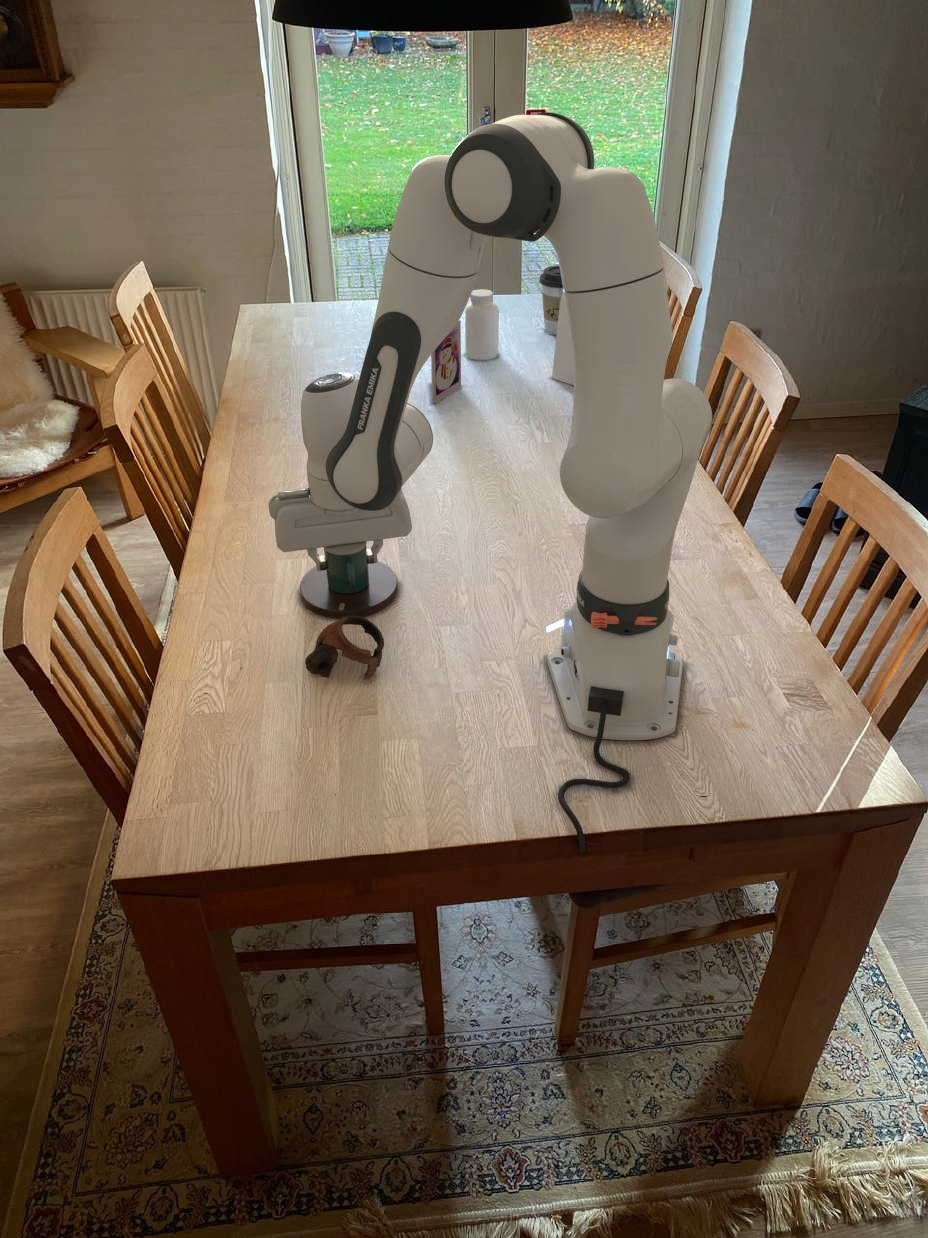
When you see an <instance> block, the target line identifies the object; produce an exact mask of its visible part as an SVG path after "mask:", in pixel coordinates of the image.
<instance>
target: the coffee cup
mask: <svg viewBox="0 0 928 1238" xmlns="http://www.w3.org/2000/svg"><path fill="white" fill-rule="evenodd" d="M538 283H539V284H540V286H541V287H540V288H541V297H542V298H541V299H542V311H543V323H544V329H545V332H546V333H547V334H549V335H553V336H557V327H558V318H559V308H560V300H561V297H562V294H563V292H564V289H563V284H562V278H561V272H560V266H559V264H558V265H550V266H547V267H545V268H544V269H543V272H542V273H541V274H540V275H539V279H538Z"/></svg>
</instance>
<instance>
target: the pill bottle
mask: <svg viewBox="0 0 928 1238" xmlns="http://www.w3.org/2000/svg"><path fill="white" fill-rule="evenodd" d="M469 301H470V302H468V303H467V305H466V307H465V309H464V331H465V332H464V333H465V334H464V335H465V336H464V339H465V344H464V345H465V346H464V347H465V349H464V350H465V355H466V357H467V358H468V359H471V360H475V361H488V360H493V359H495V358H496V357H497V356H498V354H499V332H500V331H499V328H500V325H499V321H500V319H499V318H500V309H499V306H498V305H497V304H496V303H495V302H494V292H493V291H492V290H490V289H487V288H486V289H485V288H482V289H481V288H479V289H473V291H472V293H471V296H470V298H469Z"/></svg>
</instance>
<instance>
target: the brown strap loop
mask: <svg viewBox="0 0 928 1238" xmlns="http://www.w3.org/2000/svg"><path fill="white" fill-rule="evenodd" d="M344 625H346V626H347V625H355V626H360V627H361V628H362V629H363V631H364V634H368V635H369V636H370V637H372V639H373V640H374V642H375V643H376V648H374V650H373V655H372V652H371V650H369V649H364V648H360V647H358V646H357V645H355V644H354V643H352V642H351V641H349V640H348V638H347V637H346V634H345V633H344V629H343V628H344V627H343V626H344ZM384 648H385V639H384V637H383V633H382V631H381V630H380V629H379V627H378V626H377V625H376V624H375V623H374V622H372V621H371V620H369V618H366V617H361V616H358V615H347V616H345V617H342V618H341V619H338V621H334V622H331V623H329V624H327V625H326V627H324V628H323V629H322V630H321V632H320V633H319V634H318V636H317V639H316V642H315V646H314V649H313V651H312V652H310V653H309V654H308V655H307V656H306V657H305V660H304V664H305V668H306V670H307V671H308V672H310V674H312V675H315V676H316V675H318V676H320V677H321V678H325V679H329V678H330V674H331V671H332V669H333V667H334V666H335V665H336V664H337V662H338V658H339V651H341V654H340V656H341V657H343V658H345V659H348V660H350V661H352V662H357V663H359V664H361V665H365V666H367V669H366V671H365V674H364V678H365V679H369V678H371V677H373V676H374V674H376V672H377V669H378V668H379V667H381V666H380V665H381V663H382V659H383V650H384Z"/></svg>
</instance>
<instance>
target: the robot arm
mask: <svg viewBox="0 0 928 1238" xmlns="http://www.w3.org/2000/svg"><path fill="white" fill-rule="evenodd" d="M489 237H494V238H500V239H501V238H503V239H510V240H519V241H523V242H524V241H525V242H529V243H534V242H537V241H539V240H540V239H542V238H543V237H544V238H545V239H546V240H548V241H549V243H550V244H551V245H552V247H553V249H554V251H555V254H556V257H557V261H558V265H559V266H560V272H561V278H562V284H563V289H564V296H565V301H566V307H567V313H568V319H569V325H570V331H571V338H572V344H573V350H574V361H575V386H574V385H573V386H574V389H573V405H572V416H571V426H570V433H569V437H568V441H567V445H566V448H565V451H564V453H563V455H562V458H561V462H560V465H559V478H560V483H561V487H562V489H563V492H564V494H565V496H566V497H567V499H568V500H569V501H570V503H571V504H572V505H573V506H574V507H575V508H576V509H578V510H579V511H580V512H581V513H583V514H585V515H587V516H589V517H588V518H587V522H586V526H585V533H584V546H583V556H582V557H583V558H582V569H581V571H580V573H579V575H578V580H577V583H576V601H575V602H574V603H573V604H572V605H571V606H570V607H568V608H567V610H565V611H564V613H563V619H561V620H558V621H557V622H554V623H552V624H550V625H548V626H546V627H545V628H546V630H545V631H546V633H549V632H551V631H554V630H556V629H558V628H560V627H562V631H561V639H560V640H561V641H560V647H558V648H556V649H553V650H552V651H550V652H548V654H547V656H546V664H547V668H548V670H549V673H550V677H551V680H552V683H553V686H554V689H555V693H556V696H557V699H558V702H559V704H560V707H561V708H560V709H561V711H562V714H563V717H564V720H565V723H566V725H567V727H568V728H569V729H570V730H572V731H573V732H576V733H578V734H580V735H584V736H588V737H592V738H595V740H594V743H593V748H592V749H593V756H594V759H595V760H596V762H597V763H598V764H599V765H600V766H602V767H604V768H606V769H607V770H610V771H613V772H615V773H618V774H620V775H622V776H623V778H622V779H621V780H620V781H619V780H618V781H604V780H598V779H590V778H573V779H569V780H566V781H565V782H564V783H563V784H562V785H561V787H560V788H559V790H558V793H557V799H558V803H559V805H560V807H561V808H562V810H563V811H564V813H565V815H567V817H568V819H569V821H571V823H572V825H573V827H574V829H575V831H576V835H577V840H578V841H577V842H578V852H579V854H584V853H585V852H586V842H585V841H586V840H585V834H584V831H583V827H582V825H581V822H580V821H579V819H578V818H577V816H576V815H575V813H574V812H573V810H572V809H571V807H570V806H569V804H568V803H567V801H566V798H565V794H566V792H567V790H568V789H569V788H570V787H574V786H577V785H579V786H581V785H583V786H584V785H585V786H593V787H599V788H606V789H607V788H608V789H618V788H619V789H620V788H623V787H625V786H626V785H627V784H628V783H629V781H630V779H631V775H630V773H629V771H628V770H627V769H625V768H623V767H621V766H618V765H615V764H612V763H610V762H608V761H607V760H605V759H604V758H603V757H602V756H601V754H600V747H601V743H602V740H603V739H605V740H614V741H648V740H655V739H659V738H663V737H666V736H669V735H672V734H673V733H674V732H675V731H676V729H677V722H678V714H679V713H678V712H679V705H680V696H681V695H680V694H681V686H682V677H683V669H684V660H683V658H682V657H681V656H679V655H678V654H676V653H674V652H671V651H669V650H670V646H677V645H678V639H679V638H678V635H676V634H672V631H673V627H674V620H675V614H673V613H672V611H671V610H669V608H668V607H669V602H670V581H669V579H668V578H669V573H670V564H671V558H672V553H673V546H674V541H675V536H676V532H677V527H678V524H679V521H680V518H681V515H682V512H683V509H684V506H685V503H686V502H687V498H688V495H689V492H690V488H691V485H692V482H693V478H694V475H695V471H696V469H697V465H698V461H699V458H700V455H701V453H702V449H703V447H704V445H705V443H706V440H707V439H708V436H709V434H710V431H711V429H712V424H713V411H712V406H711V404H710V401H709V400H708V398H707V396H706V395H705V393H704V392H703V391H702V390H701V389H700V388H699V386H697V385H695V384H694V383H692V382H690V381H688V380H686V379H683V378H667V379H665V374H666V368H667V363H668V359H669V355H670V354H671V351H672V346H673V339H674V337H673V336H674V334H673V326H672V319H671V311H670V302H669V295H668V290H667V282H666V281H667V280H666V272H665V265H664V259H663V253H662V246H661V241H660V238H659V232H658V228H657V224H656V220H655V216H654V213H653V210H652V207H651V203H650V200H649V197H648V194H647V191H646V188H645V186H644V183H643V181H642V180H641V179H640V178H639V176H637V175H636V174H635V173H634V172H633V171H630V170H628V169H625V168H623V167H617V166H600V167H596V168H595V154H594V148H593V145H592V142H591V139H590V137H589V135H588V133H587V132H586V131H585V129H584V128H583V127H582V125H580V124H579V123H578V122H576V121H575V120H574V119H572V118H570V117H568V116H566V115H563V114H561V113H557V112H548V111H547V112H539V113H536V114H514V115H511V116H508V117H505V118H502V119H499V120H497V121H495V122H492V123H487V124H484V125H482V126H479V127H477V128H475V129H474V130H472V131H471V132H469V133H468V134H467V135H466V136H465V137H463V138H462V139H461V140H460V141H459V143H458V144H457V145H456V147H455V148H454V149H453V151H452V152H451V154H436V155H431V156H428V157H425V158H423V159H421V160H420V161H418V162H417V163H416V164H415V165H414V167H413V168H412V169H411V171H410V174H409V176H408V178H407V181H406V184H405V186H404V188H403V191H402V193H401V197H400V200H399V202H398V206H397V209H396V212H395V215H394V218H393V223H392V227H391V231H390V236H389V240H388V245H387V250H386V256H385V261H384V268H383V273H382V277H381V282H380V283H381V284H380V289H379V295H378V300H377V305H376V309H375V315H374V319H373V323H372V328H371V332H370V333H371V334H370V337H369V341H368V345H367V349H366V351H365V355H364V359H363V363H362V366H361V370H360V375H359V378H358V377H357V376H356V375H354V374H352V373H348V372H335V373H329V374H326V375H323V376H320V377H318V378H316V379H314V380H313V381H312V382H310V383H309V384H308V385H307V386H306V387H305V388H304V390H303V391H302V395H301V401H300V402H301V403H300V420H301V433H302V441H303V442H302V443H303V445H304V447H305V450H306V453H307V459H306V476H307V484H308V485H307V486H308V487H307V488H300V489H299V488H298V489H294V490H288V491H287V490H283V491H278V492H277V494H275V495H273V496H272V497H271V498H270V499H269V501H268V511H269V515H270V518H272V519H273V520H274V534H275V543H276V548H278V549H279V550H280V551H281V552H283V553H290V552H291V553H292V552H297V551H305V550H306V551H307V555H308V557H309V558H310V559H311V560H312V561H313V562H314V563H315V567H316V568H317V571H323V570H327V567H326V560H325V554H323V555H322V554H321V555H319V553H318V549H319V548H323V547H329V546H336V545H344V544H351V543H359V542H366V541H367V542H373V543H372V546H371V547H370V548H367V559H368V564H373V563H377V561H378V554H379V553H380V551H381V550H382V548H383V546H384V540H388V539H396V538H403V537H408V535H409V534H410V533H411V531H412V530H413V529H412V528H413V524H412V516H411V512H410V508H409V505H408V502H407V498H406V497H405V494H404V492H403V490H402V488H403V487H404V485H405V484H406V483H407V481H409V479H410V478H411V477H412V475H413V474H414V473H415V472H416V471H417V470H418V468H419V466H421V464H422V463H423V462H424V461H425V459H426V458H427V457H428V455H429V454H430V452H431V450H432V449H433V445H434V435H433V429H432V426H431V424H430V422H429V420H428V419H427V417H426V416H425V415H424V413H423V412H422V411H421V410H420V409H418V407H416V406H414V405H413V404H410V403H408V401H409V398H410V394H411V390H412V388H413V386H414V383H415V381H416V378H417V377H418V375H419V373H420V371H421V370H422V368H423V366H424V365H425V364H426V362H427V361H428V359H429V358H431V354H432V353H433V352H434V350H435V349H436V348H437V347H438V346H439V344H440V343H441V342H442V341H443V340H444V339H445V337H446V336H447V335H448V334H449V333H450V332H451V330H452V329H453V328H454V327H455V325H456V324H457V323H458V321H460V320H461V317H462V316H463V314H464V312H465V309H466V306H467V305H468V304H469V301H470V296H471V293H472V291H474V288H475V284H476V281H477V278H478V277H477V276H478V273H479V270H480V267H481V266H480V265H481V260H482V258H483V257H482V256H483V252H484V249H485V246H486V243H487V240H488V238H489Z"/></svg>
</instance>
